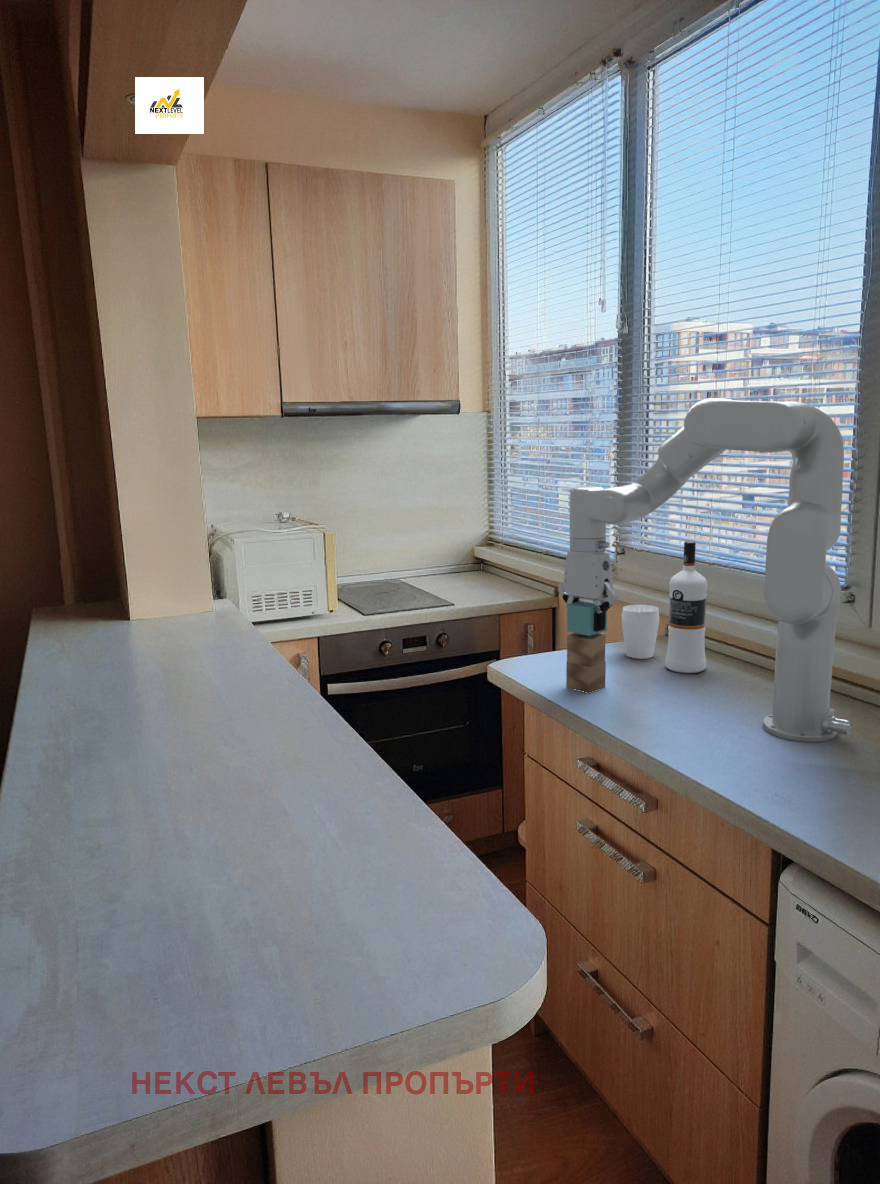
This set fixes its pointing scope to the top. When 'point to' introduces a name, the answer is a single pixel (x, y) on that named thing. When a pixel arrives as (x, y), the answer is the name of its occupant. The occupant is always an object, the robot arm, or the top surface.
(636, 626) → the cup
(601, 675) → the tower base
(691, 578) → the vodka
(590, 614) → the teal block
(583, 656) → the tower mid
